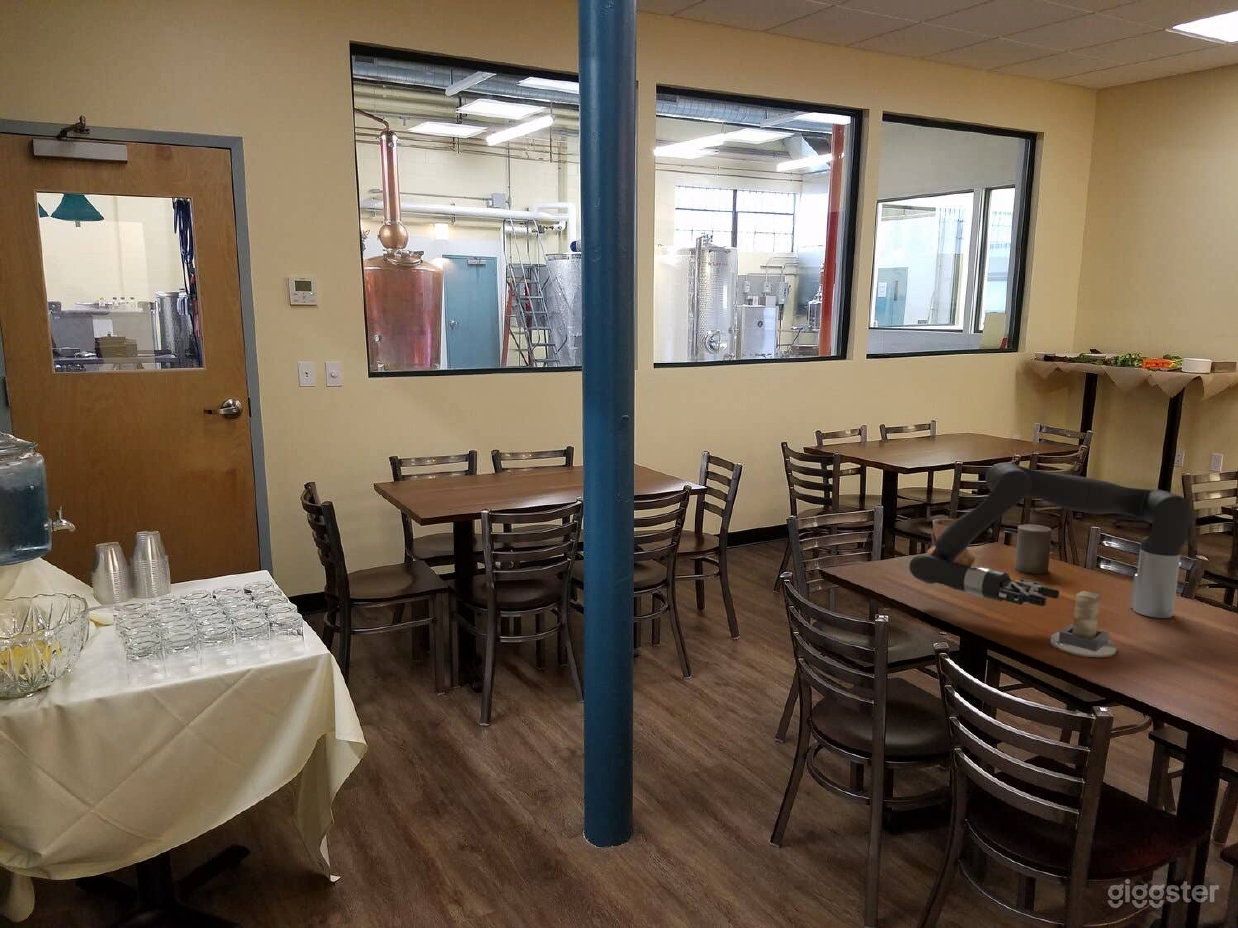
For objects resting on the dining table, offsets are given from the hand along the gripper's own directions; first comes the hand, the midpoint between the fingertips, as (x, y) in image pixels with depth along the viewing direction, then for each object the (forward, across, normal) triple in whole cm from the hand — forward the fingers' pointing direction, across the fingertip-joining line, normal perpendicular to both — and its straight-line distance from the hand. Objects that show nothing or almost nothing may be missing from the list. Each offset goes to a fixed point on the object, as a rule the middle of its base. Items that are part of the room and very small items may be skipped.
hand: (1052, 598), depth 213 cm
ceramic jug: (-46, +42, +10) cm, 63 cm away
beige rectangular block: (+8, 0, +9) cm, 12 cm away
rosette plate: (+8, 0, +10) cm, 13 cm away
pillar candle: (-25, +57, +10) cm, 63 cm away
